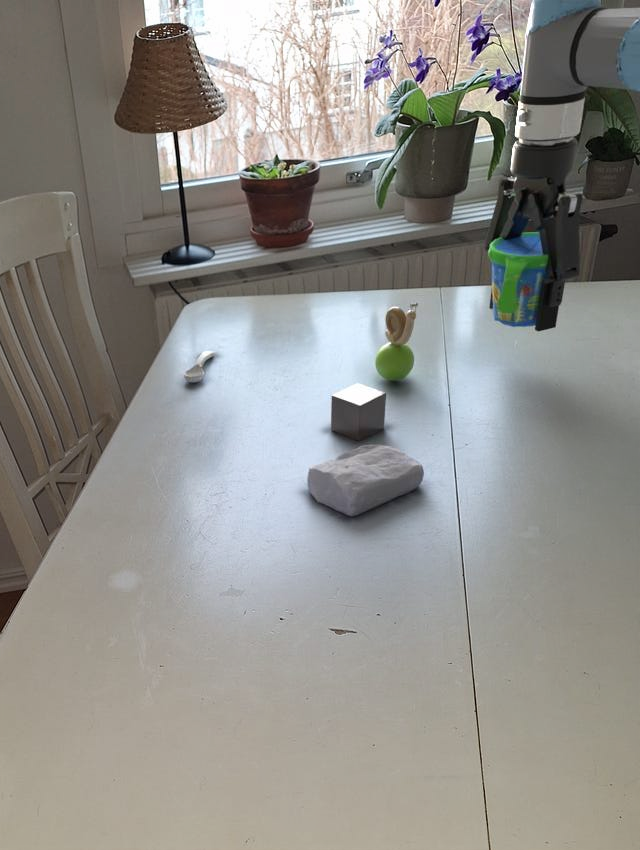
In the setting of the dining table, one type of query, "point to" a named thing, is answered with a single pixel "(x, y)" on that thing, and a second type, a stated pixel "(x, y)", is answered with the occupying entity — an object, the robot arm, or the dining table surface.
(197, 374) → the spoon
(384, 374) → the snail figurine
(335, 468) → the stone block
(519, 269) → the snack cup
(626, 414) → the dining table surface
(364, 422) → the metal cube
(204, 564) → the dining table surface
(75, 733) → the dining table surface
